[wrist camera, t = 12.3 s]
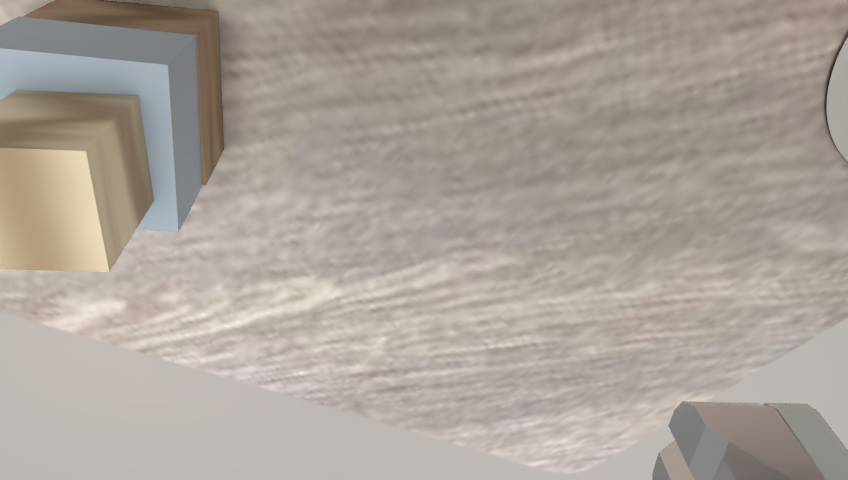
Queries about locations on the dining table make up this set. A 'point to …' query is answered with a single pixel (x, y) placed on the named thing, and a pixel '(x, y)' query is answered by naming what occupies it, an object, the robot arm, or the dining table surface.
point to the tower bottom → (87, 6)
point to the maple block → (70, 179)
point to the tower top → (121, 93)
